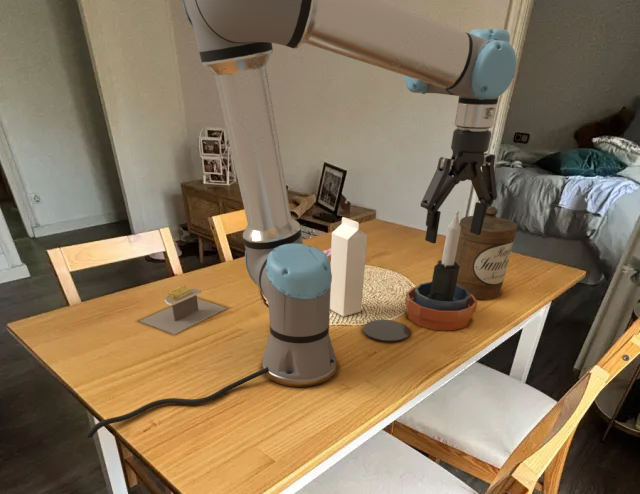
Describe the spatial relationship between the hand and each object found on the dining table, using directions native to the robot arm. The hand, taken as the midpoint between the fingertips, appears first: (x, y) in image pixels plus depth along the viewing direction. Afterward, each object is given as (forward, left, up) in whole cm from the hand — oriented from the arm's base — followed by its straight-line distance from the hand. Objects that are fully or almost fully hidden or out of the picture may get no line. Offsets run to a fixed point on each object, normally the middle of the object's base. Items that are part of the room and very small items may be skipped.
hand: (453, 237), depth 109 cm
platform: (-56, +30, -20) cm, 67 cm away
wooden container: (+21, +9, -20) cm, 30 cm away
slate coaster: (-17, -1, -19) cm, 26 cm away
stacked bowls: (0, 0, -19) cm, 19 cm away
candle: (0, 0, -20) cm, 19 cm away
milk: (-19, +14, -19) cm, 31 cm away
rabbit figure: (0, +49, -20) cm, 53 cm away
